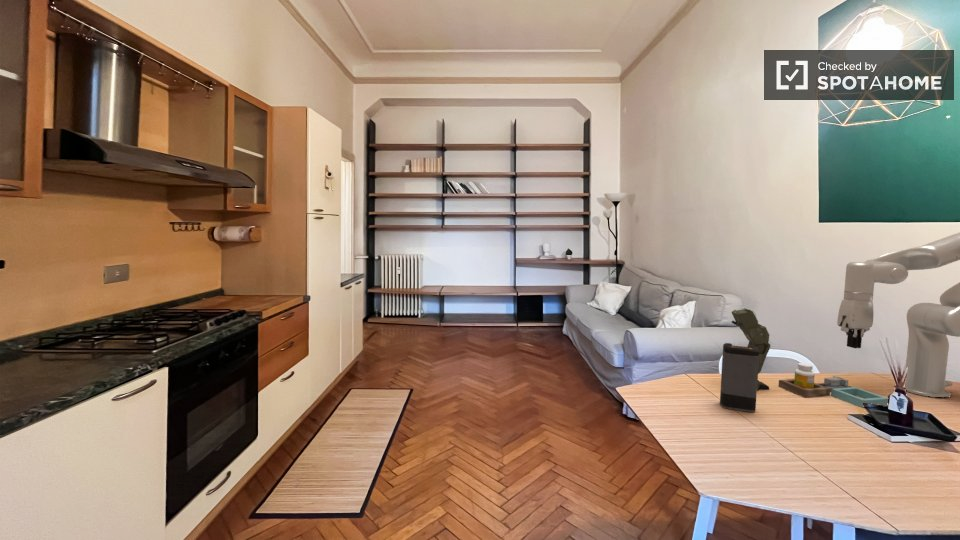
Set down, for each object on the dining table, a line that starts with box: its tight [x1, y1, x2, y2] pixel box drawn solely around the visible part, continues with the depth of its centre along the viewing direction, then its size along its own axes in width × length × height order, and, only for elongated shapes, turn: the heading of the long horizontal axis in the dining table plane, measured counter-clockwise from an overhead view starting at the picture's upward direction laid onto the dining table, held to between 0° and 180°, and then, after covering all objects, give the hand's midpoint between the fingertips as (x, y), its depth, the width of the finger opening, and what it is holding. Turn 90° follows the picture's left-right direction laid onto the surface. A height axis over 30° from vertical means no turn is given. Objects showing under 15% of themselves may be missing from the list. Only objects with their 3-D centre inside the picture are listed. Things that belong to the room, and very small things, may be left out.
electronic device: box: [719, 342, 759, 413], centre depth 126 cm, size 9×6×20 cm, turn 65°
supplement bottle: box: [793, 362, 815, 389], centre depth 140 cm, size 5×5×10 cm
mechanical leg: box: [731, 307, 771, 391], centre depth 144 cm, size 14×7×30 cm, turn 83°
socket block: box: [778, 378, 831, 399], centre depth 141 cm, size 10×10×2 cm
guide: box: [815, 382, 853, 393], centre depth 143 cm, size 12×5×2 cm, turn 99°
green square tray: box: [830, 386, 890, 409], centre depth 133 cm, size 10×10×2 cm
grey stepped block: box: [823, 375, 849, 387], centre depth 143 cm, size 6×4×3 cm
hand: (853, 347), depth 143 cm, fingers closed
